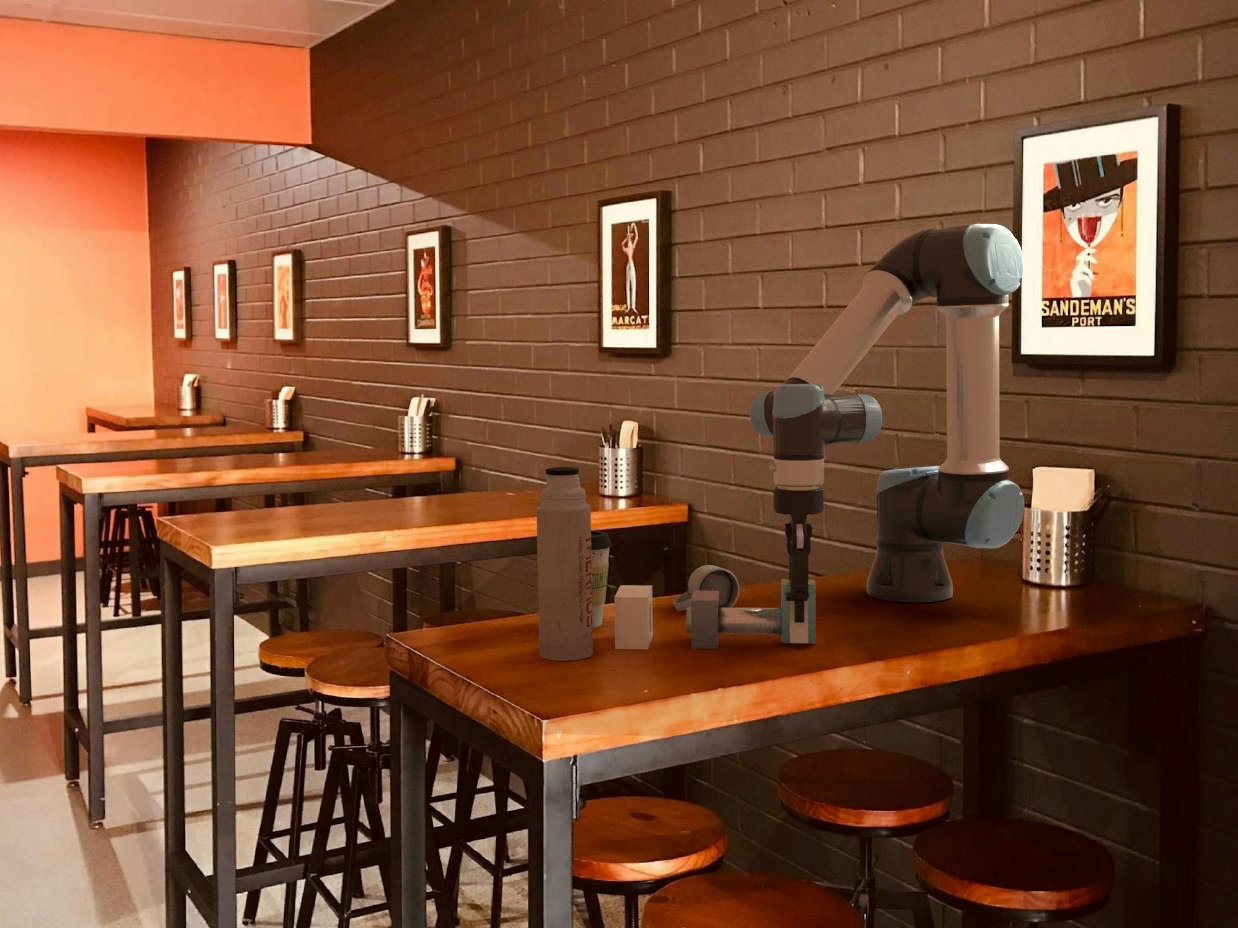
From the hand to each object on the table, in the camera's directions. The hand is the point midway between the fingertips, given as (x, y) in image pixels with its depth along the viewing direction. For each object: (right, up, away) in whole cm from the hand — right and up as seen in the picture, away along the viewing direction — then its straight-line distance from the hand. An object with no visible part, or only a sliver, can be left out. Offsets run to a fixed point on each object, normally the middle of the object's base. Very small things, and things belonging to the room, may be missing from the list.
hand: (798, 638), depth 194 cm
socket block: (-25, -1, +3) cm, 25 cm away
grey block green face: (-7, 0, +1) cm, 7 cm away
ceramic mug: (-12, +1, +26) cm, 29 cm away
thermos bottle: (-35, -2, -4) cm, 36 cm away
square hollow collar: (-14, -1, +1) cm, 14 cm away
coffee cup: (-33, 0, +15) cm, 37 cm away
